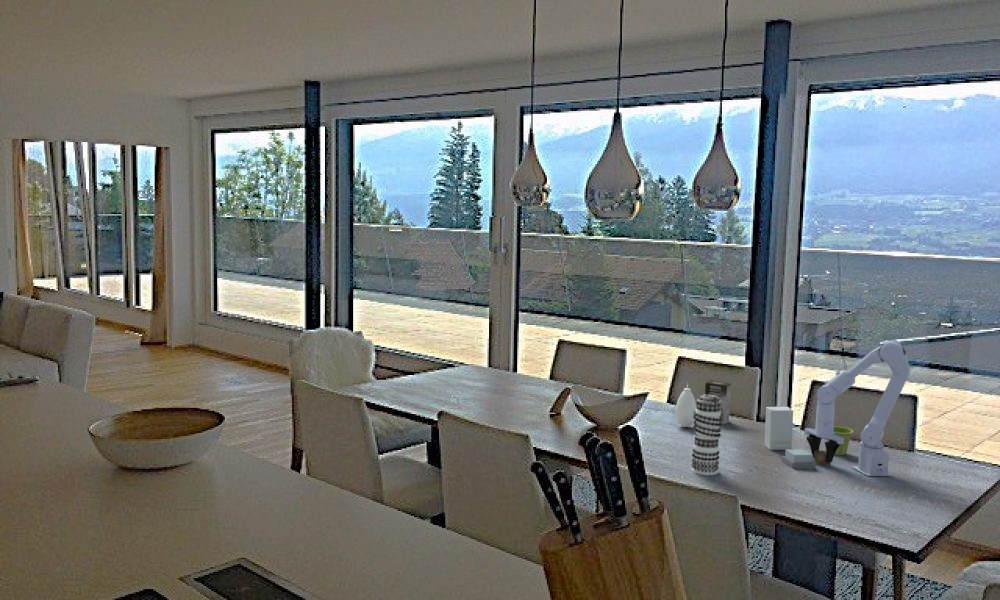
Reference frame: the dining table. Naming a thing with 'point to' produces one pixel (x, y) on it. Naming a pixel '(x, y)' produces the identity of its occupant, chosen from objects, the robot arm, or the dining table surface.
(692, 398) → the sauce bottle
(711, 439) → the decorative candle
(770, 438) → the skincare box
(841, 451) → the plant pot
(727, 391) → the coffee box
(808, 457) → the top slab
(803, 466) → the base slab
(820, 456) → the walnut cube
